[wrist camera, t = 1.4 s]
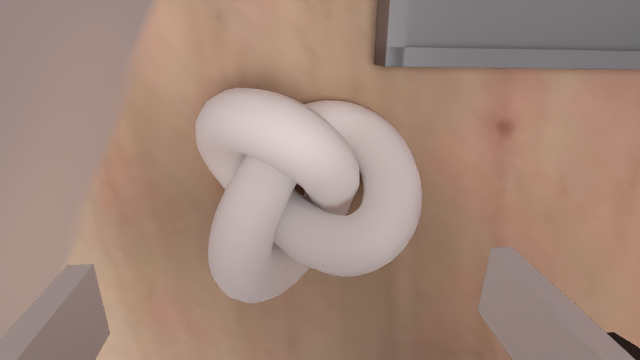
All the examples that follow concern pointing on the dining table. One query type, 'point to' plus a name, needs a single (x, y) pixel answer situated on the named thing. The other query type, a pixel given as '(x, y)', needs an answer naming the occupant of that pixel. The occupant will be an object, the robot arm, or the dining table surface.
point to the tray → (509, 34)
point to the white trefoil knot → (315, 178)
